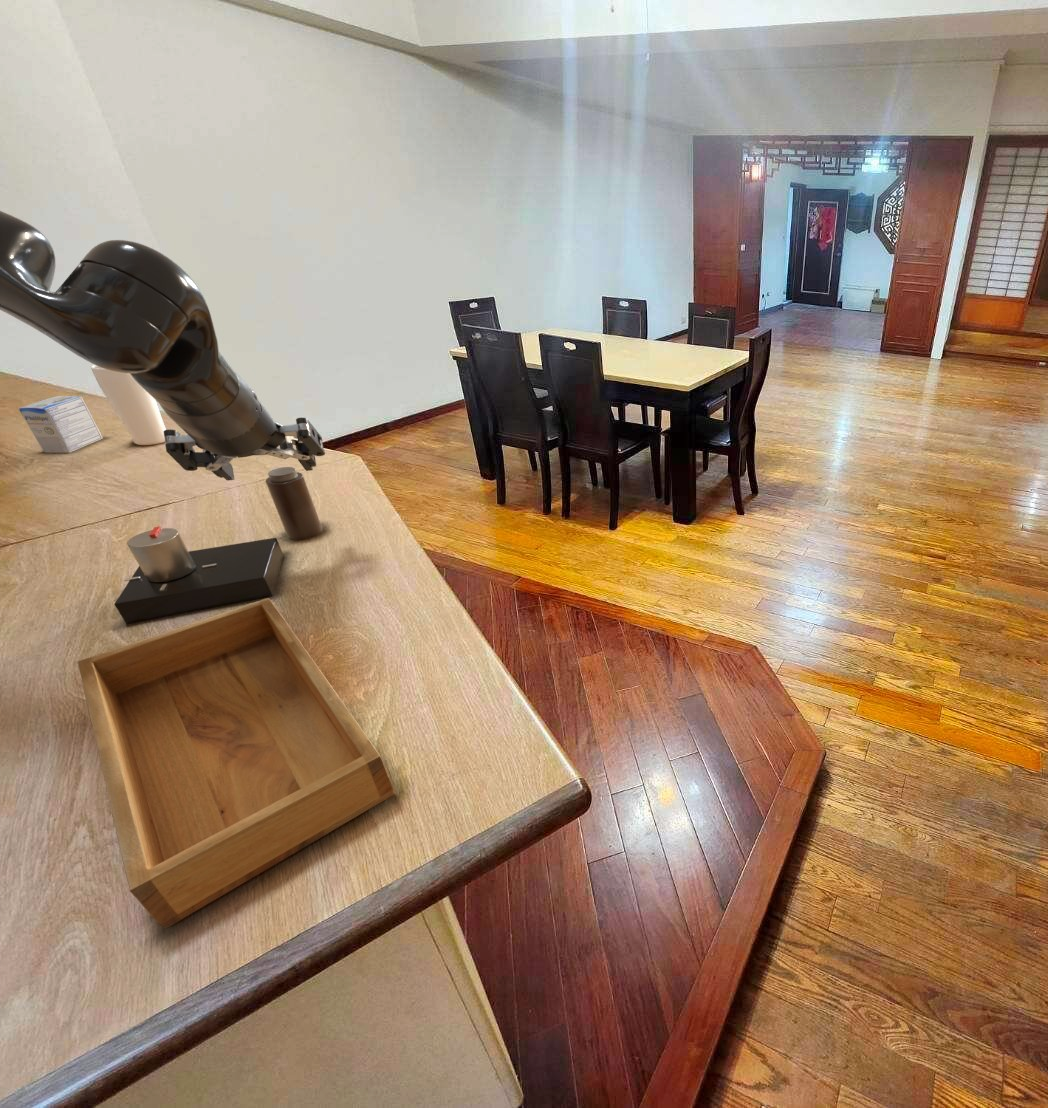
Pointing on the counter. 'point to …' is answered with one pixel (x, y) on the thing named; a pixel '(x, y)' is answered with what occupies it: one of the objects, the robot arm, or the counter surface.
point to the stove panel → (206, 582)
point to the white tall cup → (132, 406)
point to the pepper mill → (293, 503)
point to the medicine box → (61, 424)
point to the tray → (222, 755)
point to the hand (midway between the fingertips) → (270, 468)
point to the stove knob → (161, 554)
